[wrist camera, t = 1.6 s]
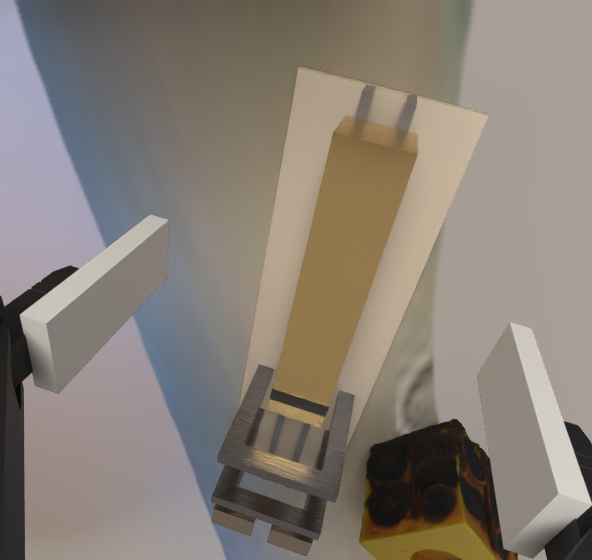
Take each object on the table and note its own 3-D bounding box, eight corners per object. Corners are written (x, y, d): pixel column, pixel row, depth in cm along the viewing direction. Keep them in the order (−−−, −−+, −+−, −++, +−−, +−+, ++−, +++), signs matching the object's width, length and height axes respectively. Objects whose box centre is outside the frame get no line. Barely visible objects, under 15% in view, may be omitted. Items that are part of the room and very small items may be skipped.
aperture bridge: (250, 419, 47) (213, 508, 39) (331, 446, 47) (311, 544, 38) (248, 432, 49) (211, 522, 40) (326, 459, 48) (306, 556, 39)
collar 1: (261, 358, 42) (218, 454, 33) (355, 388, 41) (337, 495, 32) (260, 365, 43) (217, 461, 34) (353, 395, 42) (334, 502, 33)
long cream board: (301, 66, 28) (288, 72, 25) (487, 112, 27) (494, 124, 24) (234, 441, 50) (223, 465, 48) (333, 475, 49) (329, 501, 46)
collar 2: (253, 399, 46) (211, 495, 37) (340, 427, 45) (320, 534, 36) (252, 405, 46) (211, 502, 37) (338, 433, 45) (317, 540, 36)
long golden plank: (344, 114, 26) (332, 132, 22) (419, 134, 25) (418, 155, 22) (281, 371, 38) (266, 410, 34) (331, 387, 38) (321, 428, 34)
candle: (457, 415, 40) (466, 519, 32) (510, 480, 43) (532, 592, 35) (366, 444, 45) (354, 541, 37) (419, 501, 48) (419, 603, 40)
